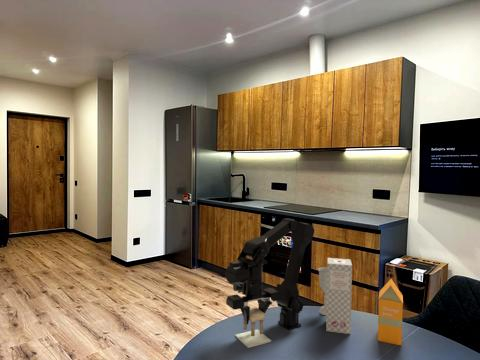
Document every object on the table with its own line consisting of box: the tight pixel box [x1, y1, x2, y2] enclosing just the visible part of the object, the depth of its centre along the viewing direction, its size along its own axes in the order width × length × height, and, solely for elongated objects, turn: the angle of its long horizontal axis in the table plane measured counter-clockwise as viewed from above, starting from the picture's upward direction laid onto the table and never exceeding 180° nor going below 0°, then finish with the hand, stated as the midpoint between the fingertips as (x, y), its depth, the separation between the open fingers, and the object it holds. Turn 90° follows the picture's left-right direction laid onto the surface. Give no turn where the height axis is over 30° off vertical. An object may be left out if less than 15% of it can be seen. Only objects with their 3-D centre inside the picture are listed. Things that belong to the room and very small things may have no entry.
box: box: [325, 257, 353, 335], centre depth 126 cm, size 8×8×25 cm
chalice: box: [317, 266, 327, 316], centre depth 139 cm, size 7×7×18 cm
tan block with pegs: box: [241, 305, 266, 336], centre depth 117 cm, size 7×5×7 cm
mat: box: [234, 328, 272, 349], centre depth 117 cm, size 9×9×1 cm
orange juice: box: [377, 278, 404, 346], centre depth 120 cm, size 8×9×20 cm
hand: (253, 322), depth 117 cm, fingers closed on tan block with pegs, 5 cm apart
